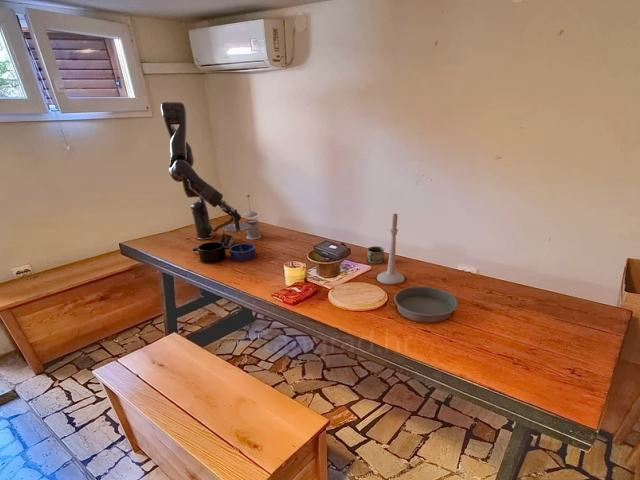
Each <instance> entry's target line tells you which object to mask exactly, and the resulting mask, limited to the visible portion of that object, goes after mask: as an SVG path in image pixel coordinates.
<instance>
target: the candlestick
mask: <svg viewBox="0 0 640 480" xmlns="http://www.w3.org/2000/svg"><path fill="white" fill-rule="evenodd" d="M398 214H399V213H393V214H392V222H391V223H392V224H391V229H389V231H390V235H391V237H390V246H389V255H388V262H387V268H386V269H387V270H386V271H382V272H380V273H379V274H377V276H376V280H377V281H378V282H379V283H381V284H384V285H399V284H402V283H404V282H405V276H404V275H403V274H402V273H401V272H398V271H396V245H397V244H396V243H397V242H396V241H397V238H396V237H397V234H398V231H399V229H397V227H398Z"/></svg>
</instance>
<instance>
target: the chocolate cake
mask: <svg viewBox="0 0 640 480" xmlns="http://www.w3.org/2000/svg"><path fill="white" fill-rule="evenodd" d="M219 242H220V243H223V244H224V246H230V247H231V246H233V244H234V243H235V239H234V236H233V235H230V234H228V233H227V234H226V233H225V231H224V230H223V231H222V234H221V236H220V239H219Z"/></svg>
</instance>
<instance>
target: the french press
mask: <svg viewBox="0 0 640 480" xmlns="http://www.w3.org/2000/svg"><path fill="white" fill-rule="evenodd" d="M250 197H251V195H250V194H246V198H247V201H250ZM248 207H249V208H251V205H250V203H248ZM243 216H244V217H246V218H250V219H248V220H246V221H245V223H247V224H250V225H251V228H250V229H248V230H246V234H247V235H246V236H245V238H246V239H247V240H259V239H261V238H262V234H261V233H260V221H259V220H258V217H256V216H258V213H257V212H256V211H251V210H249V211H247V212H245V213H243ZM253 217H255V218H253Z"/></svg>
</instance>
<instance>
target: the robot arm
mask: <svg viewBox="0 0 640 480" xmlns="http://www.w3.org/2000/svg"><path fill="white" fill-rule="evenodd" d="M160 111H161V115H162V118H163V121H164V124H165V127H166V130H167V133H168V135H169V139H170V142H169V149H170V159H169V165H168V166H169V167H168V172H169V176H170V177H171V179H172V180H173V181H174V182H176V183H177V182H178V183H182V188H183V192H184V196H186V197H187V198H188V199H194V198H199V199H198V200H197V201H195V202H193V203H190V210H191V215H192V219H193V224H194V229H195V231H196V232H195V233H196V238H197V239H198V240H200V241H204V240H205V241H207V240H210V239H213V238H214V235H213V232H216V231H217V229H218V228H219V227H224V226H226V225H228V223H231V221H232V220H233V217H234V218H236V219H237V220H238V221H239V222H240V220H241V219H242V215H241V214H240V213H238V212H237V213H238V214H237V213H235V211H233V210H234V209H235V208H234V207H233V206H232V205H231V204H230V203H228V202H227V201H226V200H223V198H224V194H222V193H221V192H220V191H218V190H217V189H216V188H215V187H214V186H212V185H211V184H209V183H208V182H206V180H204V179H203V178H202V177H201V176H199V174H198V173H197V172H196V171H195V170H194V168H193V166H194V163H195V158H194V153H193V149H192V147H191V145H190V144H189V142H188V141H187V135H188V134H187V133H188V112H187V109H186V106H185V104H184V103H183V102H180V101H163V102H162V103H161V104H160ZM176 126H178V127H177V128H176ZM207 204H209V205H210V206H212V207H213V208H216V207H217V206H218V207H219V209H220V210H222V212H224V213H225V214H226V215H229V216H230V217H231V218H230V219H229V220H228V221H226V222H224V223H222V224H219V225H217V226H216V227H214V229H213V226H212V224H211V220H210V215H209V210H208V206H207Z"/></svg>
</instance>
